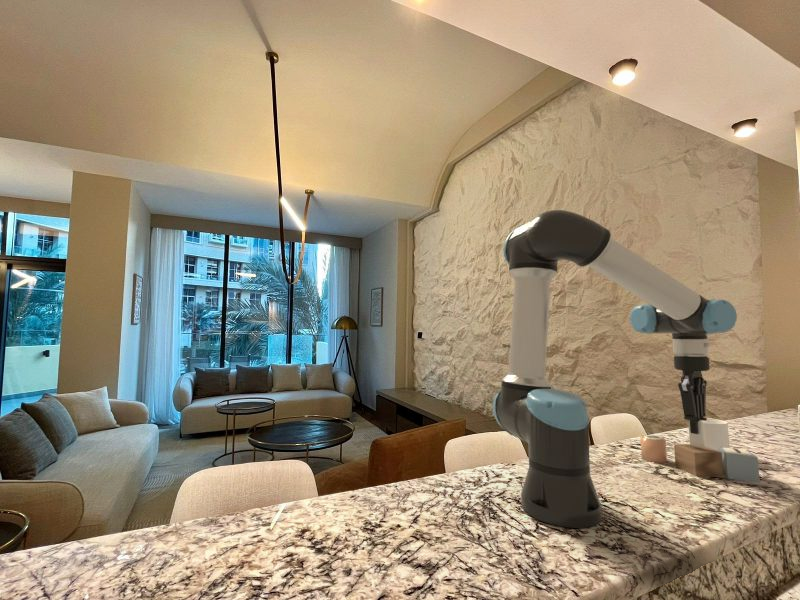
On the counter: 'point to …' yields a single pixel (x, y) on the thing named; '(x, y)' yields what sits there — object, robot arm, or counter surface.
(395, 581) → the counter surface
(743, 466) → the slate block
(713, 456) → the walnut block
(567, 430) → the robot arm
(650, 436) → the terracotta cylinder
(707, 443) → the cup
